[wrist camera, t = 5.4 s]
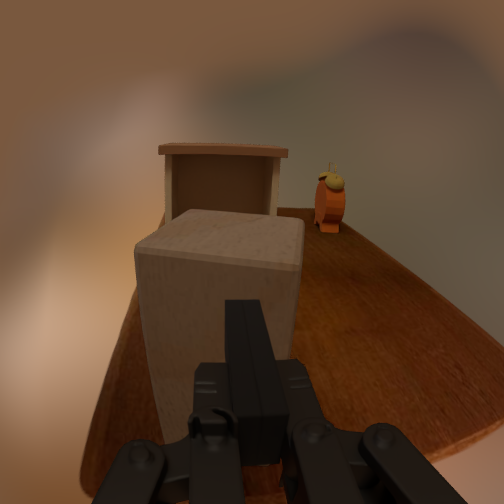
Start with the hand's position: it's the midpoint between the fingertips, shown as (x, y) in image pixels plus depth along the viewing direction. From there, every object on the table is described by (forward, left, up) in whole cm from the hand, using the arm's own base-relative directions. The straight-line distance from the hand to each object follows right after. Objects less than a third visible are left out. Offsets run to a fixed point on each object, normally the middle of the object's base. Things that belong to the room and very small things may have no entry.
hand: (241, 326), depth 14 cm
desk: (0, +47, -18) cm, 50 cm away
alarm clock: (+33, +79, -18) cm, 88 cm away
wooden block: (0, +9, -18) cm, 21 cm away
